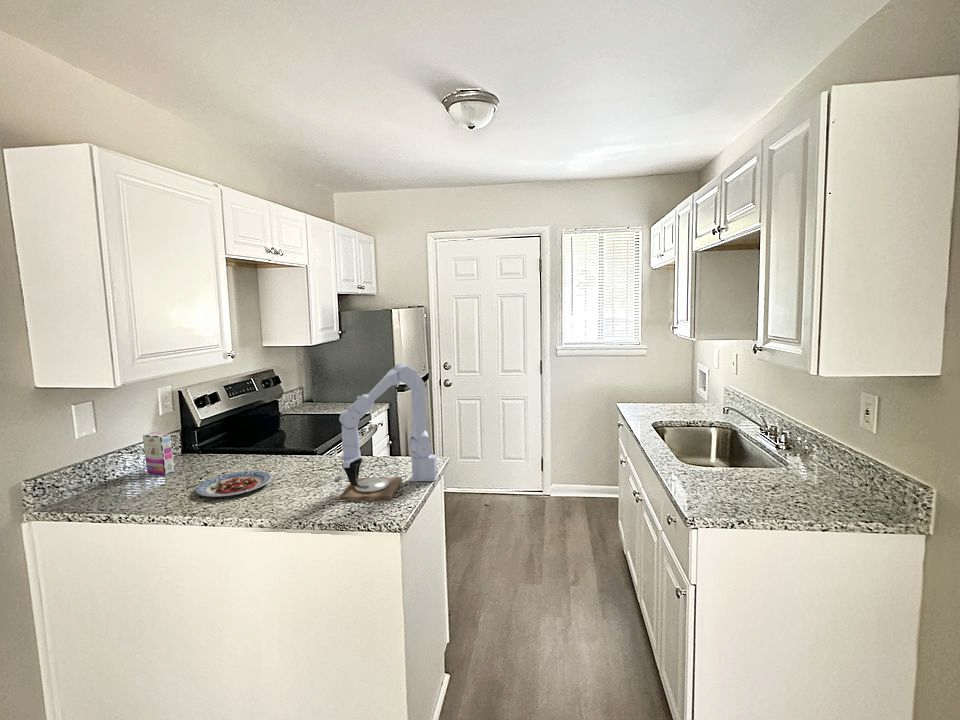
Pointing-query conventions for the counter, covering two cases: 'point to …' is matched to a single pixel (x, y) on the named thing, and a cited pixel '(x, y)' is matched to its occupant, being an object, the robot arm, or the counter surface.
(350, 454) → the robot arm
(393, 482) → the dial board
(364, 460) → the adjustable wrench
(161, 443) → the candy bar box
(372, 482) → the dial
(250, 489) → the ceramic plate
